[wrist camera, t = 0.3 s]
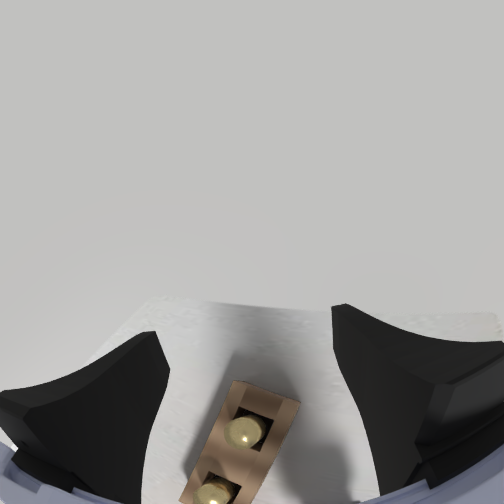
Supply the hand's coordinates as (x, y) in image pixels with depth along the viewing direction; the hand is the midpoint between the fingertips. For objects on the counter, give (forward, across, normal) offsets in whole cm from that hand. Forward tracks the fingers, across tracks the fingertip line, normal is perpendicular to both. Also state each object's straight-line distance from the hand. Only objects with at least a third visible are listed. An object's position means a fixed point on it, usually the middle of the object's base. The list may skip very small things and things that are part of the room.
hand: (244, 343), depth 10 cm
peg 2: (+14, +4, +23) cm, 27 cm away
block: (+14, +6, +30) cm, 33 cm away
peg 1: (+8, +10, +30) cm, 33 cm away
